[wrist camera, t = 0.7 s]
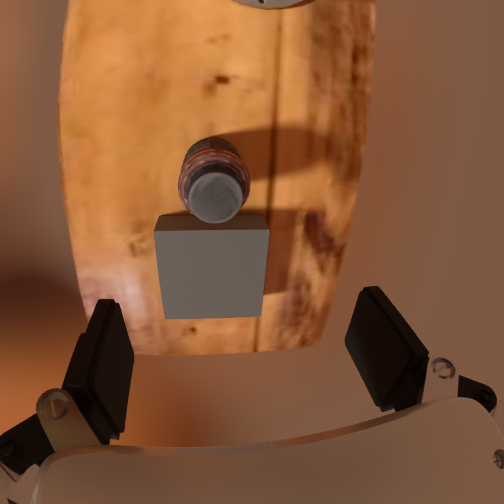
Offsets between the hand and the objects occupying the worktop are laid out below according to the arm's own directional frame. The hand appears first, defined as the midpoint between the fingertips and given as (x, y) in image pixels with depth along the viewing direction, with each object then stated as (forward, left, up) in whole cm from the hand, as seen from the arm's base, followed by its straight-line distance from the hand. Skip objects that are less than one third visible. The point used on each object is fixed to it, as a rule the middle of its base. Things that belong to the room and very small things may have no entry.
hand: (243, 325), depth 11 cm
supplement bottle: (-1, -1, -24) cm, 24 cm away
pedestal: (+11, -1, -23) cm, 26 cm away
